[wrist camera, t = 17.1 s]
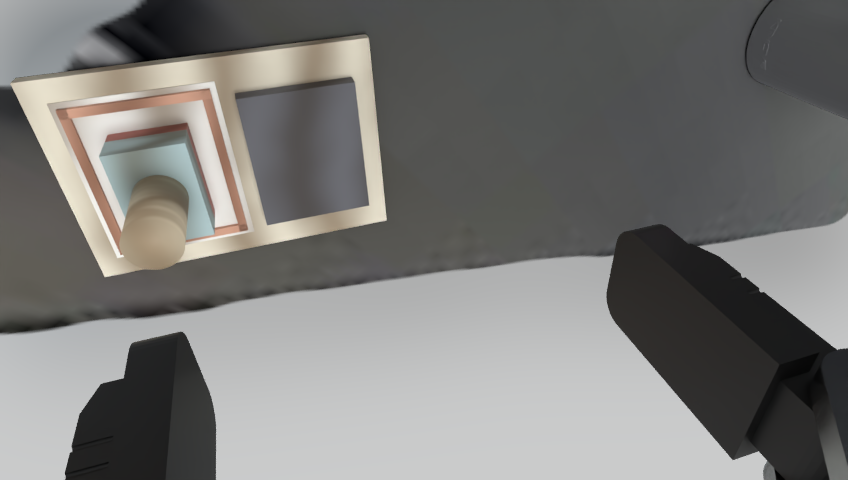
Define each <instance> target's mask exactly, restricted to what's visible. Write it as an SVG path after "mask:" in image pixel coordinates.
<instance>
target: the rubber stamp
mask: <svg viewBox="0 0 848 480" xmlns="http://www.w3.org/2000/svg"><path fill="white" fill-rule="evenodd" d="M99 158H100V161H101V163H102V165H103V168H104V170H105V172H106V175H107V177H108V179H109V182H110V184H111V186H112V189H113V191H114V193H115V196H116V198H117V200H118V203H119V205H120V207H121V210H122V212H123V214H124V216H125V221H124V225H123V229H122V233H121V237H120V242H119V246H120V250H121V253H122V254H123V256H124V257H125V258H126V259H127V260H128V261H129V262H130V263H132V264H133V265H135V266H137V267H140V268H144V269H149V270H159V269H164V268H167V267H170V266H172V265H174V264H175V263H177V262H178V261H179V260H180V259H181V257H182V256H183V254H184V251H185V243H186V240H189V239H194V238H199V237H204V236H209V235H215V209H214V205H213V202H212V199H211V196H210V193H209V190H208V186H207V183H206V180H205V177H204V174H203V170H202V167H201V164H200V161H199V158H198V154H197V151H196V148H195V145H194V142H193V138H192V135H191V132H190V129H189V126H188V123H182V124H175V125H168V126H162V127H155V128H149V129H142V130H135V131H129V132H122V133H116V134H109V135H107V138H106V140H105V143H104V145H103V148H102V150H101V153H100V155H99Z"/></svg>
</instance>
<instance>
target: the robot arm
mask: <svg viewBox="0 0 848 480" xmlns="http://www.w3.org/2000/svg"><path fill="white" fill-rule="evenodd" d="M747 66H748V70H749V72H750V74H751V76H752V77H753V78H754V79H755V80H756V81H757V82H760V83H762V84H765V85H767V86H769V87H772V88H774V89H776V90H779V91H781V92H784V93H786V94H788V95H791V96H793V97H795V98H797V99H800V100H802V101H804V102H807V103H809V104H812V105H814V106H817V107H819V108H821V109H824V110H826V111H829V112H831V113H833V114H836V115H838V116H841V117H843V118H846V119H848V0H773V1H772V2H771V3H770V4H769V5H768V6H767V7H766V9H765V10H764V12H763V13H762V15H761V16H760V17H759V19H758V21H757V23H756V25H755V27H754V29H753V31H752V34H751V37H750V39H749V43H748V48H747ZM607 304H608V308H609V311H610V314H611V316H612V318H613V319H614V321H615V323H616V324H617V325H618V326H619V328H620V329H621V330H622V331H623V332H624V333H625V335H627V337H628V338H629V339H630V340H631V342H632V343H633V344H634V345H635V346H636V347H637V349H638V350H639V351H640V352H641V353H642V354H643V356H644V357H645V358H646V359H647V360H648V361H649V363H650V364H651V365H652V366H653V367H654V368H655V370H656V371H657V372H658V373H659V374H660V375H661V377H662V378H663V379H664V380H665V381H666V382H667V384H668V385H669V386H670V387H671V388H672V389H673V391H674V392H675V393H676V394H677V395H678V396H679V398H680V399H681V400H682V401H683V402H684V403H685V405H686V406H687V407H688V408H689V409H690V410H691V412H692V413H693V414H694V415H695V416H696V418H697V419H698V420H699V421H700V422H701V423H702V424H703V426H704V427H705V428H706V429H707V430H708V432H710V434H711V435H712V436H713V437H714V439H715V440H716V441H717V442H718V443H719V444H720V446H721V447H722V448H723V449H724V450H725V451H726V453H727V454H728V455H729V456H730V457H731V458H732V459H733V460H735V459H737V458H740V457H743V456H746V455H749V454H752V453H755V452H758V451H759V452H760V453H761V454H762V455H763V456H764V457H765V458H766V460H767V462H766V464H765V466H764V470H763V476H764V480H848V348H846V349H838V350H837V349H835V348H834V347H832V346H831V345H830V344H829V343H827V342H826V341H825V340H823V339H822V338H821V337H820V336H819V335H817V334H816V333H815V332H814V331H812V330H811V329H810V328H808V327H807V326H806V325H805V324H803V323H802V322H801V321H800V320H798V319H797V318H796V317H795V316H793V315H792V314H791V313H790V312H788V311H787V310H786V309H785V308H783V307H782V306H781V305H779V304H778V303H777V302H776V301H775V300H773V299H772V298H771V297H769V296H768V295H767V294H766V293H764V292H762V293H761V292H760V291H759V288H758V287H757V286H756V285H754V284H753V283H752V282H750V281H749V280H748V279H747V278H742V277H741V274H740V273H739V272H738V271H737V270H735V269H734V268H733V267H732V266H730V265H729V264H728V263H727V262H725V261H724V260H723V259H722V258H720V257H719V256H717V255H715V254H712V253H710V252H708V251H706V250H704V249H702V248H700V247H697V246H695V245H693V244H688V243H686V242H685V241H684V240H683V239H682V238H680V237H679V236H678V235H677V234H676V233H674V232H673V231H672V230H671V229H669V228H668V227H667V226H664V225H661V224H657V225H652V226H648V227H644V228H639V229H635V230H631V231H626V232H623V233H622V234H620V236H619V237H618V239H617V243H616V248H615V253H614V258H613V263H612V268H611V274H610V278H609V283H608V289H607ZM72 450H73V451H72V452H71V453H70V455H69V459H68V463H67V467H66V471H65V475H66V480H216V422H215V414H214V408H213V403H212V399H211V396H210V393H209V390H208V387H207V385H206V383H205V381H204V378H203V375H202V373H201V370H200V368H199V366H198V363H197V361H196V358H195V356H194V354H193V351H192V349H191V346H190V343H189V341H188V339H187V337H186V335H185V334H184V333H183V332H178V333H173V334H169V335H165V336H160V337H155V338H151V339H147V340H142V341H138V342H134V343H132V344H131V346H130V348H129V353H128V359H127V364H126V370H125V375H124V378H123V379H119V380H115V381H111V382H107V383H103V384H101V385H100V386H99V388H98V389H97V391H96V392H95V393H94V395H93V396H92V398H91V399H90V400H89V402H88V403H87V405H86V406H85V408H84V409H83V410H82V412H81V413H80V415H79V419H78V423H77V427H76V431H75V435H74V439H73V443H72Z"/></svg>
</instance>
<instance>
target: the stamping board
mask: <svg viewBox="0 0 848 480" xmlns="http://www.w3.org/2000/svg"><path fill="white" fill-rule="evenodd" d="M11 86H12V88H13V90H14V92H15V94H16V96H17V98H18V100H19V102H20V104H21V106H22V108H23V110H24V112H25V114H26V116H27V118H28V120H29V122H30V125H31V127H32V129H33V131H34V133H35V135H36V137H37V139H38V141H39V143H40V145H41V147H42V149H43V151H44V153H45V155H46V157H47V159H48V161H49V163H50V165H51V168H52V170H53V172H54V174H55V176H56V178H57V180H58V182H59V184H60V186H61V188H62V190H63V192H64V194H65V196H66V198H67V200H68V202H69V204H70V206H71V208H72V211H73V213H74V215H75V217H76V219H77V221H78V223H79V225H80V227H81V229H82V231H83V233H84V235H85V237H86V239H87V241H88V243H89V245H90V247H91V249H92V251H93V254H94V256H95V258H96V260H97V262H98V264H99V266H100V268H101V270H102V272H103V274H104V276H105V277H108V276H113V275H118V274H123V273H128V272H133V271H138V270H143V269H144V268H140V267H137V266H135V265H133V264H132V263H130V262H129V261H128V260H127V259H126V258H125V257H124V256H123V254H122V253H121V250H120V246H119V242H120V237H121V233H122V229H123V225H124V221H125V216H124V214H123V212H122V210H121V207H120V205H119V203H118V200H117V198H116V196H115V193H114V191H113V189H112V186H111V184H110V182H109V179H108V177H107V175H106V172H105V170H104V168H103V165H102V163H101V161H100V158H99V155H100V153H101V150H102V148H103V145H104V143H105V140H106V138H107V135H109V134H116V133H122V132H129V131H135V130H142V129H149V128H155V127H162V126H168V125H175V124H182V123H188V126H189V129H190V132H191V135H192V138H193V142H194V145H195V148H196V151H197V154H198V158H199V161H200V164H201V167H202V170H203V174H204V177H205V180H206V183H207V186H208V190H209V193H210V196H211V199H212V202H213V205H214V209H215V235H209V236H204V237H199V238H194V239H189V240H186V243H185V251H184V254H183V256H182V257H181V259H180V260H179V261H178V262H182V261H187V260H192V259H197V258H202V257H207V256H212V255H217V254H222V253H227V252H232V251H237V250H242V249H247V248H252V247H257V246H262V245H267V244H272V243H277V242H281V241H286V240H291V239H296V238H301V237H306V236H311V235H316V234H321V233H326V232H331V231H336V230H341V229H346V228H351V227H356V226H361V225H366V224H371V223H376V222H381V221H386V220H387V219H386V209H385V199H384V188H383V178H382V168H381V158H380V147H379V137H378V127H377V117H376V106H375V96H374V86H373V76H372V65H371V55H370V45H369V37H368V36H367V35H366V34H363V35H355V36H347V37H339V38H331V39H323V40H315V41H307V42H299V43H291V44H283V45H275V46H267V47H259V48H251V49H243V50H235V51H227V52H219V53H211V54H203V55H195V56H187V57H179V58H171V59H163V60H155V61H147V62H139V63H131V64H123V65H115V66H107V67H99V68H91V69H83V70H75V71H67V72H59V73H52V74H43V75H36V76H28V77H20V78H15V79H14V80H13V81H12V82H11Z"/></svg>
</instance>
